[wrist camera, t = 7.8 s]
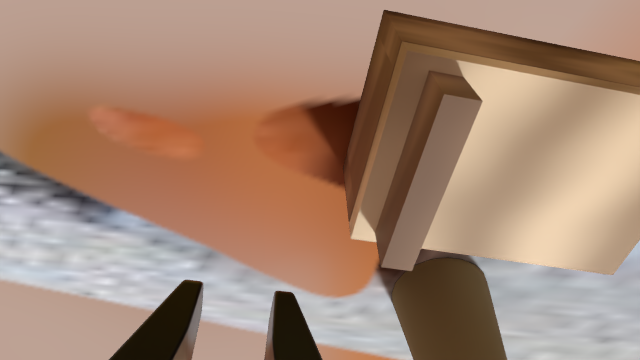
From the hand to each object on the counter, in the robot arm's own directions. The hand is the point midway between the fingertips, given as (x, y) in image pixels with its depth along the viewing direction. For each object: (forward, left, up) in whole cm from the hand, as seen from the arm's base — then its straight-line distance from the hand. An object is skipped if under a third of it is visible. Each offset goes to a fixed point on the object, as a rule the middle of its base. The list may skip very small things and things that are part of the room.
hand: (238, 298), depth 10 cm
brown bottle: (-12, +12, -13) cm, 22 cm away
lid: (-10, 0, -8) cm, 13 cm away
